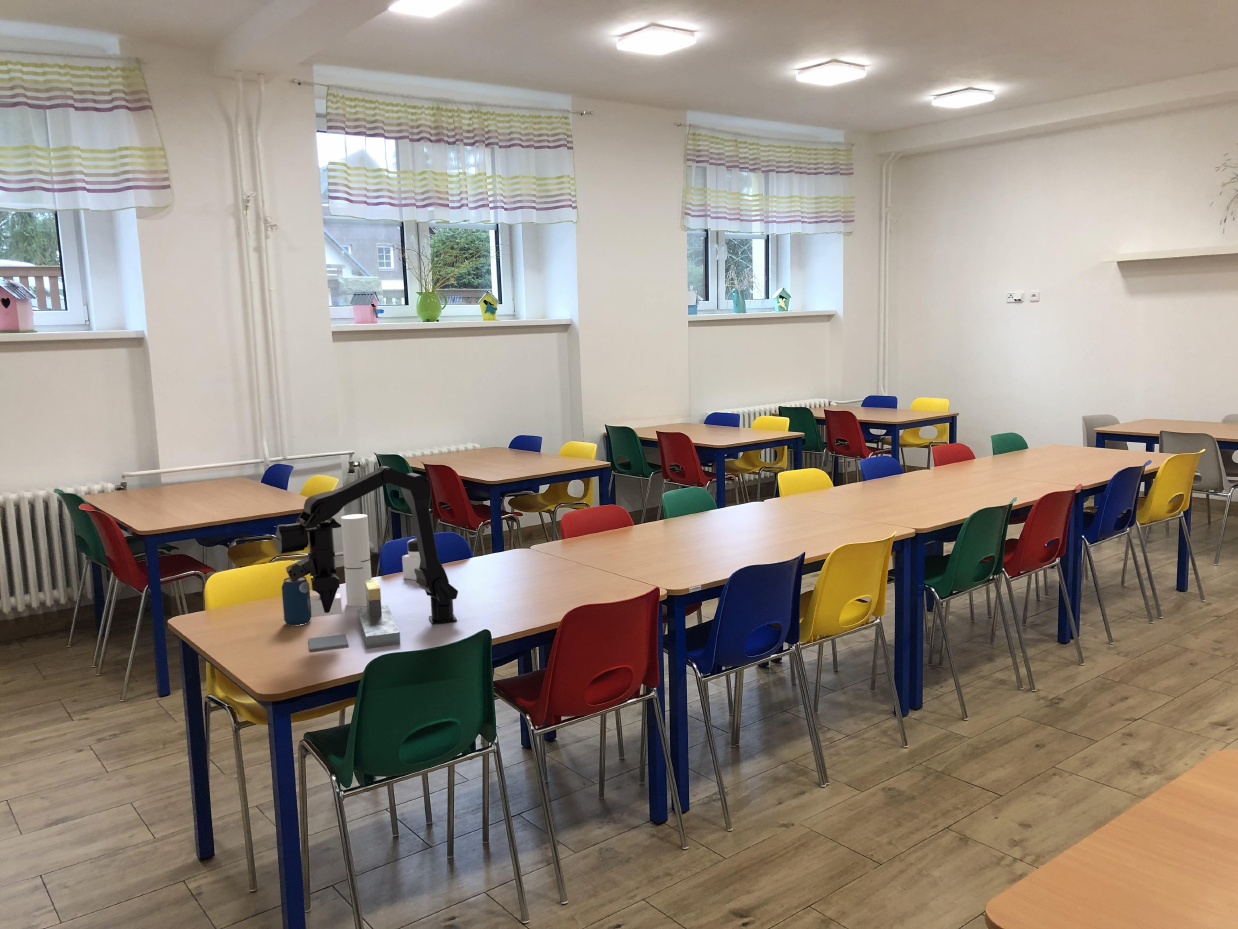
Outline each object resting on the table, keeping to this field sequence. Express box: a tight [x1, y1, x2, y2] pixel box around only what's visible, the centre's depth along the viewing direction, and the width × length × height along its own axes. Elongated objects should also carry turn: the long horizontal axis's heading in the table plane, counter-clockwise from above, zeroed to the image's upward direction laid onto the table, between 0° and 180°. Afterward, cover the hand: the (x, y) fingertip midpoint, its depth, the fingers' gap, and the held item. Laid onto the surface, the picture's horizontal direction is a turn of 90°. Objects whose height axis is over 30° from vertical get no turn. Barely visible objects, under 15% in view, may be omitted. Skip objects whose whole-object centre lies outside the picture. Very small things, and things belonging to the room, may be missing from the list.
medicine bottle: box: [401, 538, 420, 581], centre depth 299 cm, size 7×7×12 cm
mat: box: [307, 633, 350, 652], centre depth 235 cm, size 9×9×1 cm
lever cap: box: [310, 592, 343, 618], centre depth 234 cm, size 5×7×4 cm
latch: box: [365, 579, 382, 601], centre depth 251 cm, size 10×3×3 cm, turn 20°
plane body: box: [356, 594, 401, 649], centre depth 244 cm, size 26×8×7 cm, turn 20°
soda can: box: [281, 576, 313, 626], centre depth 253 cm, size 7×7×12 cm
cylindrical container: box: [340, 513, 373, 608], centre depth 270 cm, size 7×7×25 cm
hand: (326, 609), depth 234 cm, fingers closed on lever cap, 5 cm apart
